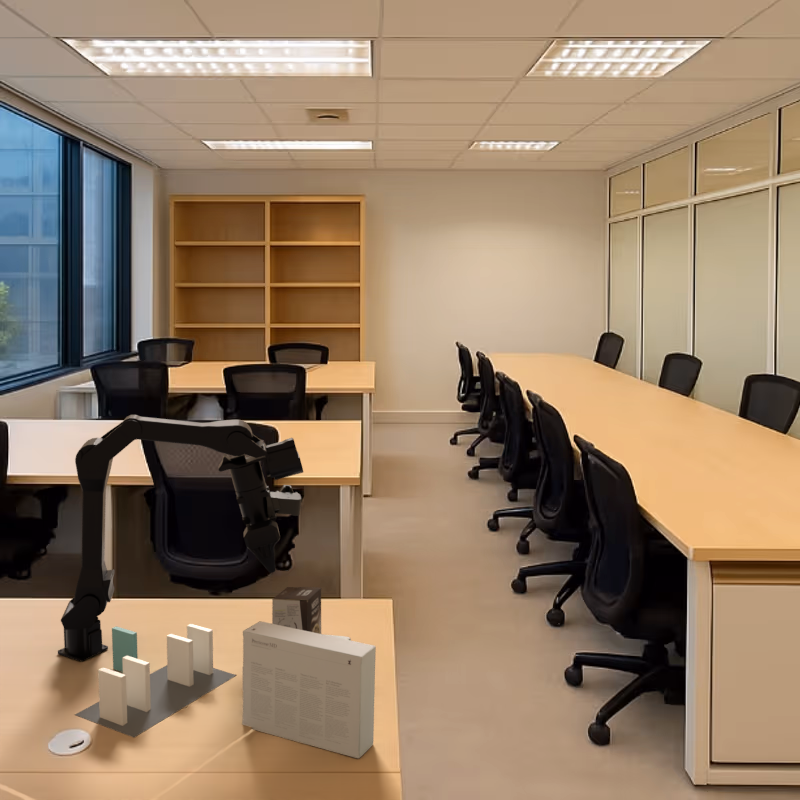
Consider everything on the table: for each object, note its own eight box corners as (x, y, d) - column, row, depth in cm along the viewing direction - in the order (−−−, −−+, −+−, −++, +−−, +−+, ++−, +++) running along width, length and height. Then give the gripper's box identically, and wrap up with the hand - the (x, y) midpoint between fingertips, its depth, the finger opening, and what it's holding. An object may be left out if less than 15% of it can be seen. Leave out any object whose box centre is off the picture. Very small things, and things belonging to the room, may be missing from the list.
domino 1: (99, 717, 141) (98, 669, 139) (104, 714, 142) (103, 667, 140) (122, 725, 138) (121, 677, 137) (127, 723, 139) (125, 675, 138)
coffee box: (308, 696, 147) (308, 599, 146) (271, 694, 148) (270, 598, 147) (323, 678, 156) (322, 586, 155) (288, 675, 157) (287, 585, 156)
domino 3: (167, 679, 154) (166, 635, 152) (171, 677, 154) (170, 633, 153) (189, 686, 151) (188, 642, 150) (193, 684, 152) (192, 640, 151)
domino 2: (123, 703, 145) (122, 657, 144) (128, 701, 146) (126, 655, 145) (146, 712, 143) (144, 665, 141) (150, 709, 143) (149, 662, 142)
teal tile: (113, 671, 157) (111, 628, 156) (117, 668, 158) (116, 626, 157) (133, 677, 155) (132, 634, 154) (138, 675, 156) (136, 632, 154)
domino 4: (187, 668, 158) (186, 625, 157) (191, 666, 159) (190, 623, 157) (209, 675, 155) (208, 631, 154) (213, 672, 156) (212, 629, 155)
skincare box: (376, 743, 136) (377, 644, 133) (359, 760, 131) (360, 659, 128) (260, 711, 144) (259, 618, 142) (240, 726, 140) (239, 631, 137)
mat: (74, 716, 141) (74, 714, 141) (180, 659, 162) (180, 657, 162) (134, 739, 135) (134, 737, 135) (236, 677, 156) (236, 675, 156)
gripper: (296, 487, 157) (317, 568, 161) (289, 463, 176) (308, 536, 179) (234, 504, 156) (257, 586, 159) (233, 478, 174) (254, 552, 177)
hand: (271, 563), depth 168 cm, fingers open, 9 cm apart
